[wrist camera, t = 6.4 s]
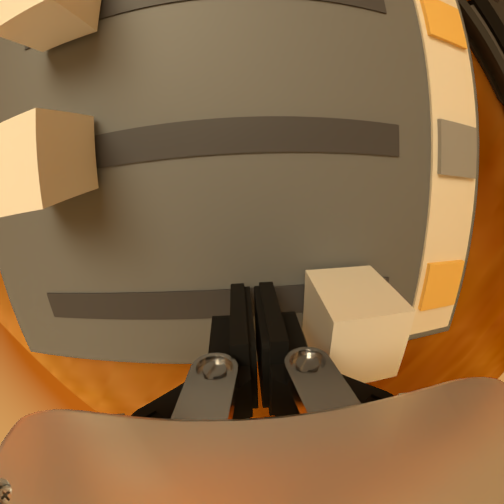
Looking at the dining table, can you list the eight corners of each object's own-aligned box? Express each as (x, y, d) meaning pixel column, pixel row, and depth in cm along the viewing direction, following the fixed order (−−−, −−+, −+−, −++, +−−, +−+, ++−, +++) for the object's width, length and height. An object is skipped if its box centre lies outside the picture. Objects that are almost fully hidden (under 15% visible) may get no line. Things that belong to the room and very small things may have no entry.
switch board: (17, 24, 9) (-9, 13, 6) (431, -1, 10) (457, -16, 7) (48, 330, 16) (27, 355, 13) (429, 310, 17) (452, 334, 14)
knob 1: (51, 3, 7) (6, -24, 3) (104, -18, 7) (67, -58, 3) (42, 52, 8) (-12, 33, 4) (97, 31, 8) (49, -3, 4)
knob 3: (305, 270, 12) (334, 322, 8) (369, 265, 12) (415, 310, 8) (302, 329, 13) (323, 390, 9) (361, 322, 13) (396, 375, 9)
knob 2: (38, 131, 9) (-23, 134, 6) (93, 116, 9) (35, 107, 6) (44, 197, 10) (-15, 220, 7) (98, 188, 10) (43, 209, 7)
